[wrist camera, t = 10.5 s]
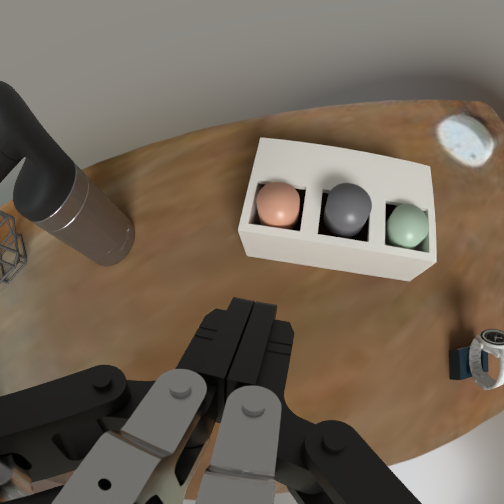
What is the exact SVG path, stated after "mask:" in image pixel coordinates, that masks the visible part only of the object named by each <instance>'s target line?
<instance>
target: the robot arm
mask: <svg viewBox="0 0 504 504" xmlns="http://www.w3.org/2000/svg"><path fill="white" fill-rule="evenodd" d="M24 157H26V159H25V162H24V164H23V166H22V169H21V171H20V173H19V175H18V177H17V180H16V183H15V186H14V192H13V201H14V205H15V208H16V209H17V211H18V212H19V213H20V214H21V215H23V216H24V217H26V218H27V219H28V220H30V221H31V222H33V223H34V224H36V225H37V226H39V227H40V228H42V229H43V230H45V231H47V232H48V233H50V234H51V235H53V236H54V237H56V238H57V239H59V240H61V241H62V242H64V243H65V244H67V245H68V246H70V247H72V248H73V249H75V250H77V251H78V252H80V253H81V254H83V255H85V256H86V257H88V258H90V259H91V260H93V261H95V262H96V263H98V264H100V265H104V266H109V265H113V264H115V263H117V262H119V261H120V260H122V259H123V258H124V257H125V256H126V255H127V254H128V252H129V250H130V249H131V246H132V244H133V241H134V227H133V224H132V222H131V221H130V219H129V218H128V217H127V216H126V215H125V214H124V213H123V212H122V211H121V210H120V209H119V208H118V207H117V206H116V205H115V204H114V203H113V202H112V201H111V200H110V199H109V198H108V197H107V196H106V195H105V194H104V193H103V192H102V191H101V190H100V189H99V188H98V187H97V186H96V185H95V184H94V183H93V182H92V181H91V180H90V179H89V178H88V177H87V176H86V175H85V173H84V172H82V170H81V169H80V168H79V167H78V166H77V165H76V164H75V163H74V162H73V161H72V160H71V159H70V157H69V156H68V155H67V154H66V153H65V152H64V151H63V150H62V149H61V148H60V146H59V145H58V144H57V143H56V142H55V141H54V140H53V139H52V137H51V136H50V135H49V134H48V133H47V132H46V130H45V129H44V128H43V126H42V125H41V124H40V123H39V121H38V120H37V119H36V117H35V116H34V114H33V113H32V112H31V110H30V109H29V107H28V106H27V105H26V103H25V102H24V101H23V99H22V98H21V97H20V95H19V94H18V93H17V92H16V91H15V90H14V89H13V88H12V87H11V86H10V85H9V84H7V83H5V82H2V81H0V182H2V180H3V179H4V178H5V177H6V176H7V175H8V174H9V173H10V171H11V170H12V169H13V168H14V167H15V166H16V165H17V164H18V163H19V162H20V161H21V159H23V158H24ZM276 311H277V305H275V304H269V303H263V302H258V301H256V302H255V301H252V300H246V299H241V298H235V297H233V299H232V301H231V303H230V305H229V307H228V309H227V311H226V310H221V309H215V310H213V311H212V312H210V313H209V314H208V315H206V316H205V317H204V319H203V321H202V323H201V324H200V326H199V329H198V330H197V331H196V333H195V336H194V337H193V339H192V340H191V342H190V344H189V346H188V348H187V349H186V351H185V353H184V355H183V356H182V358H181V360H180V362H179V364H178V365H177V367H176V369H174V370H170V371H167V372H165V373H164V374H162V375H161V376H160V377H159V378H158V379H157V380H156V381H132V380H126V378H125V375H124V374H123V372H122V371H121V370H120V369H118V368H116V367H114V366H111V365H98V366H95V367H92V368H89V369H86V370H83V371H80V372H77V373H74V374H71V375H68V376H65V377H62V378H59V379H56V380H53V381H50V382H47V383H44V384H41V385H38V386H34V387H31V388H28V389H25V390H21V391H18V392H15V393H11V394H8V395H5V396H1V397H0V504H183V501H184V496H185V491H186V489H187V486H188V484H189V482H190V480H191V478H192V476H193V474H194V472H195V470H196V468H197V466H198V464H199V462H200V460H201V458H202V456H203V454H204V452H205V450H206V448H207V446H208V444H209V441H210V435H211V433H212V430H213V427H214V425H215V422H217V423H221V424H220V428H219V432H218V436H217V439H216V443H215V447H214V451H213V455H212V459H211V462H210V465H209V467H208V468H207V469H206V471H205V473H204V475H203V478H202V482H201V485H200V489H199V492H198V496H197V500H196V504H273V503H274V496H275V485H276V481H278V482H280V483H282V484H284V485H286V486H287V488H288V490H289V491H290V493H291V494H292V496H293V497H294V499H295V500H296V502H297V503H298V504H422V503H421V502H420V501H418V499H417V498H416V497H415V496H414V495H413V494H412V493H411V492H410V491H409V490H408V489H407V488H406V486H405V485H404V484H403V483H402V482H401V481H400V480H399V479H398V478H397V477H396V476H395V474H394V473H393V472H392V471H391V470H390V469H389V468H388V467H387V466H386V464H385V463H384V462H383V461H382V460H381V459H380V458H379V457H378V456H377V454H376V453H375V452H374V451H373V450H372V449H371V448H370V447H369V445H368V444H367V443H366V442H365V441H364V440H363V439H362V437H361V436H360V435H359V434H358V433H357V432H356V431H355V430H354V429H353V428H352V427H351V426H350V425H348V424H346V423H344V422H341V421H336V420H328V421H322V422H320V423H317V424H313V423H311V422H309V421H307V420H304V419H302V418H300V417H298V416H297V415H295V414H294V413H293V412H292V411H291V410H290V409H289V408H288V407H287V405H286V403H285V399H284V390H285V384H286V379H287V373H288V368H289V362H290V356H291V350H292V344H293V338H294V331H293V329H292V327H291V324H290V322H286V321H280V320H275V318H276ZM73 470H76V471H75V472H74V473H73V475H72V476H71V478H70V479H69V480H68V482H67V483H66V484H65V485H62V486H58V487H55V488H52V489H49V490H45V491H42V492H39V493H35V494H33V487H32V485H31V483H32V482H35V481H39V480H43V479H47V478H50V477H54V476H57V475H61V474H64V473H67V472H70V471H73ZM24 496H25V497H24Z"/></svg>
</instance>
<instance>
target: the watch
mask: <svg viewBox="0 0 504 504" xmlns="http://www.w3.org/2000/svg"><path fill="white" fill-rule="evenodd" d="M488 353H492V354H493V355H494V356H495V357H497V358H499V357H500V361H501V362H500V368H501V369H500V372H499V376H498V379H497V381H495V380H494V379H492V378H491V377H490V376H489V375H488V374H487V373H486V372H488ZM449 365H450V379H452V380H462V379H466V378H469V377H472V378H473V380H474V381H475V382H476V383H477V385H478V386H480V387H481V388H482V389H484V390H490V389H493V388H496V387H498V386H501V385H503V384H504V331H501V330H497V329H488V330H484V331H482V332H481V333H480V335H476V337H475V338H474V339H473V341H472V343H471V346H469V347H464V348H460V349H456V350H451V351H449Z"/></svg>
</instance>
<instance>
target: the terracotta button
mask: <svg viewBox="0 0 504 504" xmlns="http://www.w3.org/2000/svg"><path fill="white" fill-rule="evenodd" d="M256 204H257V209H258V215H259V220H260V223H261V225H262V226H268V227H275V228H281V229H288V230H292V229H293V228H294V227H295V225H296V224H297V222H298V217H299V205H300V198H299V194H298V192H297V191H296V189H295V188H294V187H292V186H291V185H289V184H287V183H284V182H273V183H269V184H267V185H265V186H264V187H263V188H262V189H261V190H260V191H259V193H258V195H257V198H256Z"/></svg>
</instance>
